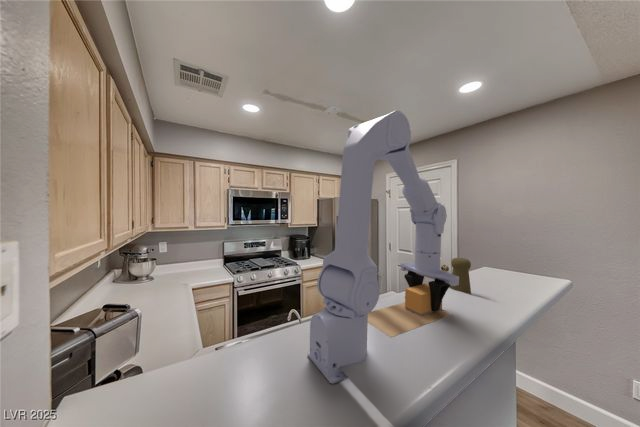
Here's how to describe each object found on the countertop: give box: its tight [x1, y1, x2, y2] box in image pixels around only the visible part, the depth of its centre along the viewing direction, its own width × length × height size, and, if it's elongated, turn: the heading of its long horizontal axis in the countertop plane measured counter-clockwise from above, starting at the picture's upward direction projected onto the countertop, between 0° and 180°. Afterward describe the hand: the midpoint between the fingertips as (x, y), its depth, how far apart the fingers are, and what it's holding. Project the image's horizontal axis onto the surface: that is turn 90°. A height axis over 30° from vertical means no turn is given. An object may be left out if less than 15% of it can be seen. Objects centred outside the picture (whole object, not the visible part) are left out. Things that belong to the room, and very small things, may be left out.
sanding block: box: [404, 283, 443, 316], centre depth 57 cm, size 8×4×5 cm, turn 120°
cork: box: [449, 257, 472, 296], centre depth 72 cm, size 6×6×11 cm
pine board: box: [368, 301, 452, 338], centre depth 53 cm, size 20×10×2 cm, turn 120°
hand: (425, 305), depth 57 cm, fingers closed on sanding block, 4 cm apart
